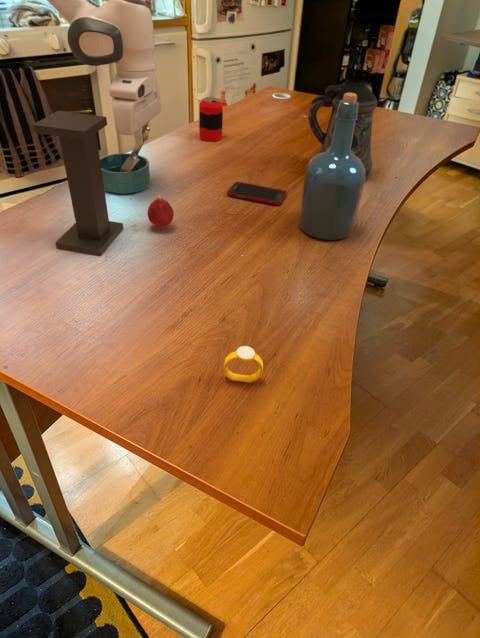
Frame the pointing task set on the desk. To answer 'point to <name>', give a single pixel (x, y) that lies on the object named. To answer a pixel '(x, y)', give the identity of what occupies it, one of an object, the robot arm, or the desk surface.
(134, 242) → the desk surface
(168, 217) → the onion
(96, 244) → the brown pedestal stand
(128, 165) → the grey scoop
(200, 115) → the soda can
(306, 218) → the wine bottle
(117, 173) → the bowl
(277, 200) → the cell phone
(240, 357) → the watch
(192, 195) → the desk surface
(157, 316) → the desk surface
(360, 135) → the beer stein
